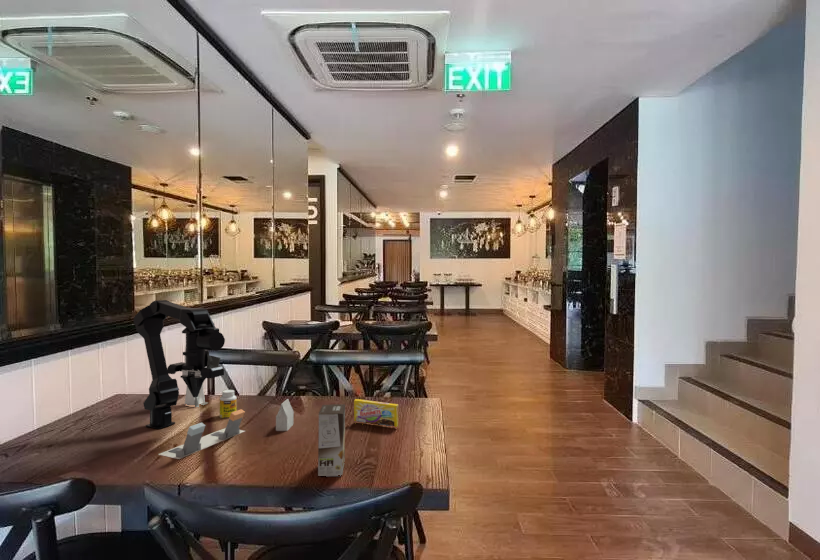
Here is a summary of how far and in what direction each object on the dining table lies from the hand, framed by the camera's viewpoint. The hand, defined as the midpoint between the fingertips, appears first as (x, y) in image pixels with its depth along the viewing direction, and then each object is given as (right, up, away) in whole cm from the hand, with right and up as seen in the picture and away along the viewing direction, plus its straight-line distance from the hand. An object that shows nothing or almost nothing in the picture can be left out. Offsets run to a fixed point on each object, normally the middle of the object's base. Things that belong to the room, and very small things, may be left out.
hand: (195, 397), depth 148 cm
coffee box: (+48, -13, -26) cm, 56 cm away
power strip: (+8, -12, -10) cm, 18 cm away
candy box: (+57, -13, +11) cm, 59 cm away
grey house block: (+27, -13, +4) cm, 30 cm away
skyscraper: (-17, -12, +35) cm, 41 cm away
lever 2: (+13, -11, -5) cm, 17 cm away
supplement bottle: (+4, -12, +16) cm, 20 cm away
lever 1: (+7, -11, -19) cm, 23 cm away
